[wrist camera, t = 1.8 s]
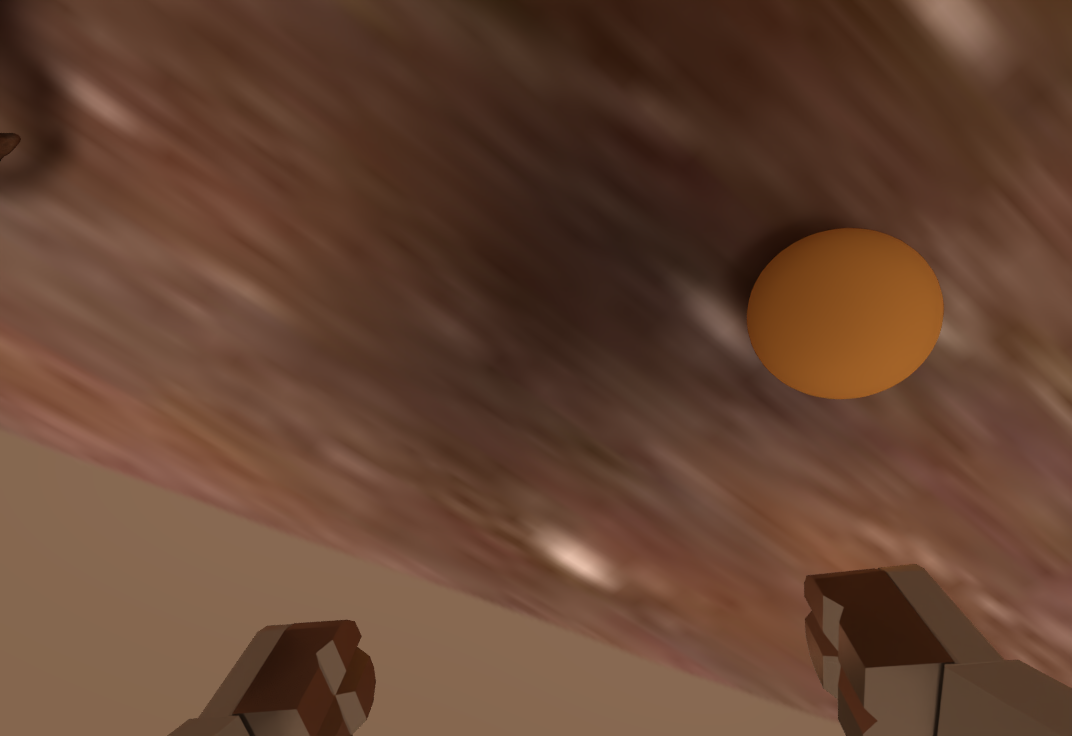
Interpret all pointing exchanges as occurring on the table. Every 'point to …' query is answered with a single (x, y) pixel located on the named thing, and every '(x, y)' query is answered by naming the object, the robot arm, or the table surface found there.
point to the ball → (845, 313)
